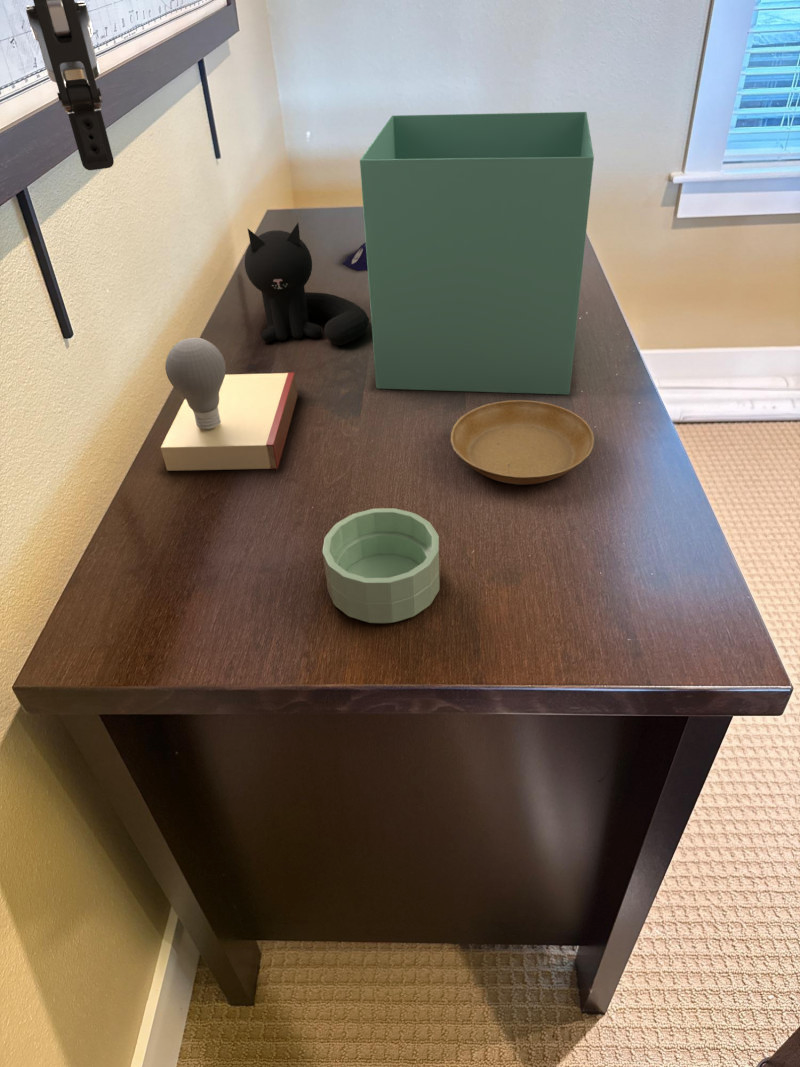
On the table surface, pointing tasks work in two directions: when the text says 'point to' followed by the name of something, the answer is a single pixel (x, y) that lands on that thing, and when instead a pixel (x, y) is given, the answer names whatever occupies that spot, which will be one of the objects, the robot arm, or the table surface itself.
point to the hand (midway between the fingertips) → (96, 155)
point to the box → (476, 249)
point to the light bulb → (198, 378)
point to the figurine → (297, 291)
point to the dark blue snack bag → (357, 259)
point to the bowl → (382, 565)
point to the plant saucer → (522, 441)
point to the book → (236, 426)
